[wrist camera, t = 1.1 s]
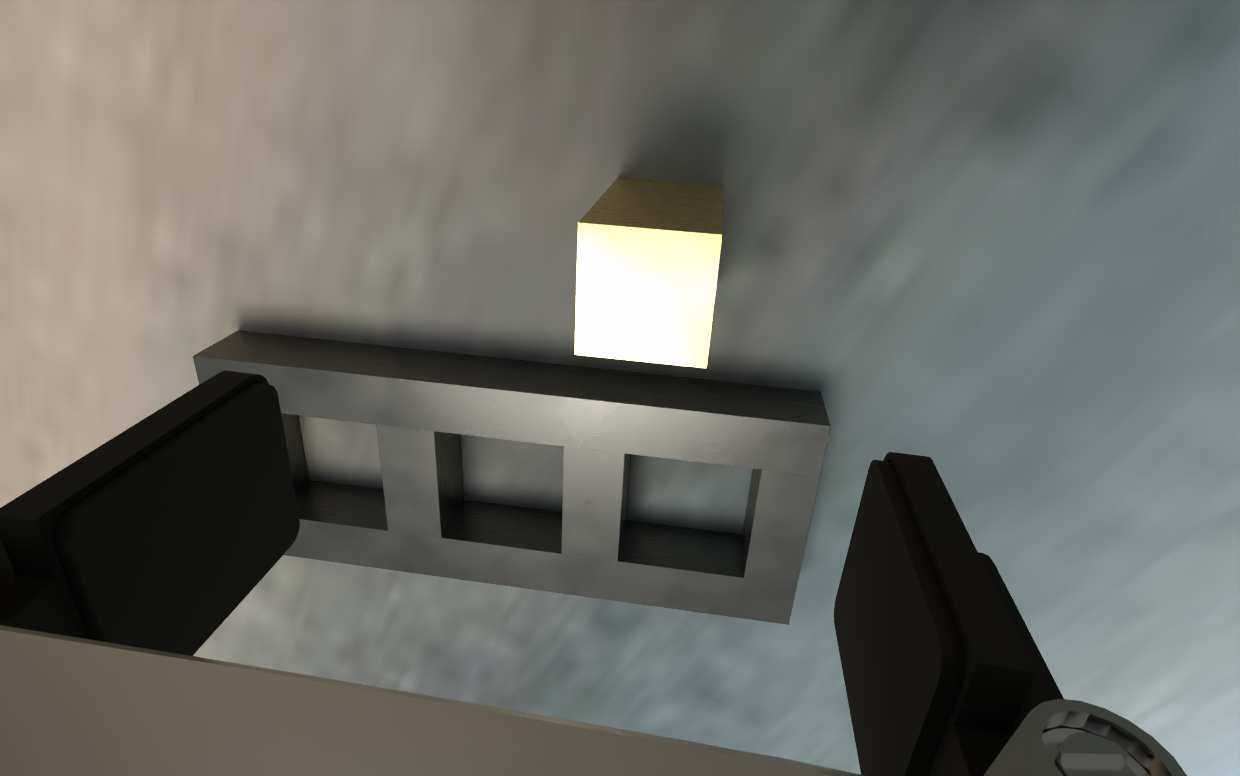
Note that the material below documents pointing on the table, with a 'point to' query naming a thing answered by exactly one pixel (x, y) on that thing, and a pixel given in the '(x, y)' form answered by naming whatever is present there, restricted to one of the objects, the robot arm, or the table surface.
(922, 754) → the robot arm
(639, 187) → the brass peg
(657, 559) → the steel rail
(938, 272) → the table surface
